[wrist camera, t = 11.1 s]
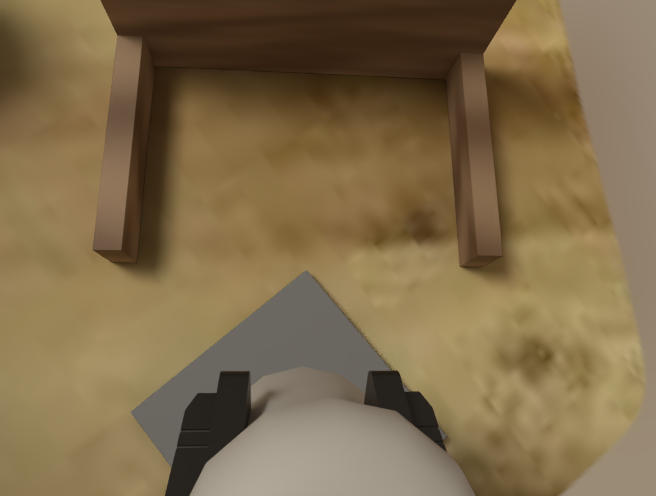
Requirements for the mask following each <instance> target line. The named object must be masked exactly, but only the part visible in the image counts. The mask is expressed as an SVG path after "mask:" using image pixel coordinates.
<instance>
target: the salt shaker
mask: <svg viewBox="0 0 656 496" xmlns="http://www.w3.org/2000/svg"><path fill="white" fill-rule="evenodd" d="M364 398H365V393H364V392H362V391H361V390H360V389H359V388H357V387H356V386H355V385H354V384H353V383H351V382H350V381H349V380H348V379H346V378H345V377H344V376H343V375H340V374H335V373H331V372H326V371H322V370H317V369H312V368H308V367H299V368H295V369H290V370H286V371H282V372H278V373H274V374H270V375H266V376H263V377H262V378H261V379H259V380H258V381H257V382H256V383H255V384H253V385H252V386H251V412H250V417H249V421H248V426H247V428H246V429H245V430H244V431H243V432H241V433H240V434H239V435H238V436H237V437H236V438H234V439H233V440H232V441H231V442H230V443H229V444H228V445H226V446H225V447H224V448H223V449H222V450H221V451H219V452H218V453H217V454H216V455H215V456H214V457H212V458H211V459H210V460H209V461H208V462H207V463H206V464H205V466H204V468H203V470H202V472H201V474H200V476H199V478H198V480H197V482H196V484H195V486H194V488H193V490H192V492H191V494H190V496H475V494H474V492H473V490H472V488H471V486H470V484H469V483H468V481H467V479H466V477H465V475H464V473H463V471H462V469H461V468H460V467H459V465H458V464H457V463H456V462H455V460H454V459H453V458H452V457H451V455H449V454H448V453H447V452H446V451H444V450H443V449H442V448H441V447H440V446H438V445H437V444H436V443H435V442H433V441H432V440H431V439H430V438H429V437H427V436H426V435H425V434H424V433H422V432H421V431H420V430H419V429H418V428H416V427H415V426H414V425H413V424H411V423H410V422H409V421H408V420H407V419H405V418H404V417H403V416H402V415H400V414H399V413H398V412H397V411H393V410H388V409H384V408H379V407H374V406H369V405H364Z"/></svg>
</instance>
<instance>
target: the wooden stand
mask: <svg viewBox="0 0 656 496" xmlns="http://www.w3.org/2000/svg"><path fill="white" fill-rule="evenodd" d="M101 2H102V4H103V6H104V8H105V10H106V12H107V15H108V17H109V19H110V21H111V23H112V25H113V27H114V29H115V31H116V33H117V43H116V52H115V61H114V69H113V78H112V87H111V95H110V104H109V112H108V121H107V130H106V138H105V147H104V156H103V164H102V173H101V182H100V190H99V199H98V207H97V216H96V225H95V233H94V242H93V250H94V251H95V252H97V253H98V254H100V255H101V256H103V257H104V258H106V259H107V260H109V261H110V262H137V255H138V245H139V234H140V223H141V212H142V201H143V190H144V180H145V169H146V158H147V147H148V136H149V125H150V114H151V104H152V93H153V82H154V71H155V66H166V67H187V68H209V69H231V70H252V71H274V72H295V73H317V74H339V75H360V76H382V77H403V78H425V79H446V87H447V101H448V114H449V127H450V141H451V154H452V168H453V181H454V194H455V208H456V221H457V234H458V248H459V261H460V267H483V266H485V265H487V264H489V263H491V262H492V261H494V260H496V259H498V258H500V257H502V256H503V253H502V243H501V232H500V222H499V212H498V202H497V191H496V181H495V171H494V161H493V150H492V140H491V130H490V120H489V109H488V99H487V89H486V79H485V68H484V58H483V53H484V52H485V50H486V48H487V47H488V45H489V44H490V42H491V40H492V39H493V37H494V35H495V34H496V32H497V31H498V29H499V27H500V26H501V24H502V23H503V21H504V19H505V18H506V16H507V15H508V13H509V11H510V10H511V8H512V6H513V5H514V3H515V2H516V0H101Z"/></svg>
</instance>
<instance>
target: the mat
mask: <svg viewBox="0 0 656 496" xmlns="http://www.w3.org/2000/svg"><path fill="white" fill-rule="evenodd" d="M299 367H308V368H312V369H317V370H322V371H326V372H331V373H335V374H340V375H343V376H344V377H345V378H346V379H348V380H349V381H350V382H351V383H353V384H354V385H355V386H356V387H357V388H359V389H360V390H361V391H362V392H364V393H365V391H366V384H367V377H368V372H369V371H391V370H390V368H389V367H388V366H387V365H386V364H385V362H384V361H383V360H382V359H381V358H380V356H379V355H378V354H377V353H376V352H375V351H374V349H373V348H372V347H371V346H370V345H369V343H368V342H367V341H366V340H365V339H364V338H363V336H362V335H361V334H360V333H359V332H358V330H357V329H356V328H355V327H354V326H353V324H352V323H351V322H350V321H349V320H348V319H347V317H346V316H345V315H344V314H343V313H342V311H341V310H340V309H339V308H338V307H337V306H336V304H335V303H334V302H333V301H332V300H331V298H330V297H329V296H328V295H327V294H326V292H325V291H324V290H323V289H322V288H321V287H320V285H319V284H318V283H317V282H316V281H315V279H314V278H313V277H312V276H311V275H310V274H309V272H308V271H307V270H306V271H305V272H303V273H302V274H301V275H300V276H298V277H297V278H296V279H295V280H293V281H292V282H291V283H290V284H288V285H287V286H286V287H285V288H284V289H282V290H281V291H280V292H279V293H277V294H276V295H275V296H274V297H272V298H271V299H270V300H269V301H267V302H266V303H265V304H264V305H262V306H261V307H260V308H259V309H258V310H256V311H255V312H254V313H253V314H251V315H250V316H249V317H248V318H246V319H245V320H244V321H243V322H241V323H240V324H239V325H238V326H236V327H235V328H234V329H233V330H231V331H230V332H229V333H228V334H227V335H225V336H224V337H223V338H222V339H220V340H219V341H218V342H217V343H215V344H214V345H213V346H212V347H210V348H209V349H208V350H207V351H205V352H204V353H203V354H202V355H201V356H199V357H198V358H197V359H196V360H194V361H193V362H192V363H191V364H189V365H188V366H187V367H186V368H184V369H183V370H182V371H181V372H179V373H178V374H177V375H176V376H175V377H173V378H172V379H171V380H170V381H168V382H167V383H166V384H165V385H163V386H162V387H161V388H160V389H158V390H157V391H156V392H155V393H153V394H152V395H151V396H150V397H148V398H147V399H146V400H145V401H144V402H142V403H141V404H140V405H139V406H137V407H136V408H135V409H134V410H132V411H131V413H132V415H133V416H134V418H135V419H136V420H137V422H138V423H139V424H140V426H141V427H142V428H143V430H144V431H145V432H146V434H147V435H148V436H149V438H150V439H151V440H152V442H153V443H154V444H155V446H156V447H157V449H158V450H159V451H160V453H161V454H162V455H163V457H164V458H165V459H166V461H167V462H168V463H169V465H170V466H171V467H172V464H173V460H174V455H175V451H176V449H177V442H178V438H179V434H180V432H181V425H182V421H183V417H184V412H185V409H186V408H187V407H188V405H189V404H190V403H191V401H192V400H193V399H194V397H195V396H196V395H197V393H217V387H218V381H219V376H220V372H221V371H250V376H251V386H252V385H253V384H255V383H256V382H257V381H258V380H259V379H261V378H262V377H263V376H266V375H270V374H274V373H278V372H282V371H286V370H290V369H295V368H299ZM403 388H404V392H409V391H408V390H407V388H406V387H405V386H404V385H403ZM438 429H439V430H440V433H441V436H442V439H443V440H444V439H445V438H446V437H447V436H446V435H445V434H444V432H443V431H442V430H441V429H440V428H439V426H438Z"/></svg>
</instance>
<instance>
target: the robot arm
mask: <svg viewBox="0 0 656 496" xmlns="http://www.w3.org/2000/svg"><path fill="white" fill-rule="evenodd" d="M364 405H369V406H374V407H379V408H384V409H388V410H393V411H397V412H398V413H399V414H400V415H402V416H403V417H404V418H405V419H407V420H408V421H409V422H410V423H411V424H413V425H414V426H415V427H416V428H418V429H419V430H420V431H421V432H422V433H424V434H425V435H426V436H427V437H429V438H430V439H431V440H432V441H433V442H435V443H436V444H437V445H438V446H440V447H441V448H442V449H443V450H444V451H446V448H445V445H443V439H442V436H441V433H440V430H439V429H438V423H437V420H436V417H435V414H434V411H433V408H432V406H431V405H430V404H429V403H428V402H427V400H426V399H425V398H424V397H423V396H422V394H421V393H420V392H404V388H403V384H402V380H401V377H400V374H399V372H398V371H369V372H368V377H367V384H366V391H365V398H364ZM250 412H251V376H250V371H221V372H220V376H219V381H218V387H217V393H197V395H196V396H195V397H194V399H193V400H192V401H191V403H190V404H189V405H188V407H187V408H186V409H185V412H184V417H183V421H182V425H181V432H180V434H179V438H178V442H177V449H176V451H175V455H174V460H173V464H172V468H171V472H170V477H169V481H168V485H167V490H166V494H165V496H190V494H191V492H192V490H193V488H194V486H195V484H196V482H197V480H198V478H199V476H200V474H201V472H202V470H203V468H204V466H205V464H206V463H207V462H208V461H209V460H210V459H211V458H212V457H214V456H215V455H216V454H217V453H218V452H219V451H221V450H222V449H223V448H224V447H225V446H226V445H228V444H229V443H230V442H231V441H232V440H233V439H234V438H236V437H237V436H238V435H239V434H240V433H241V432H243V431H244V430H245V429H246V428H247V426H248V421H249V417H250Z"/></svg>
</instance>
